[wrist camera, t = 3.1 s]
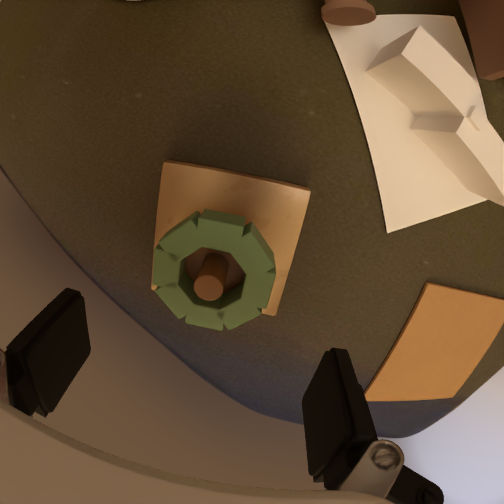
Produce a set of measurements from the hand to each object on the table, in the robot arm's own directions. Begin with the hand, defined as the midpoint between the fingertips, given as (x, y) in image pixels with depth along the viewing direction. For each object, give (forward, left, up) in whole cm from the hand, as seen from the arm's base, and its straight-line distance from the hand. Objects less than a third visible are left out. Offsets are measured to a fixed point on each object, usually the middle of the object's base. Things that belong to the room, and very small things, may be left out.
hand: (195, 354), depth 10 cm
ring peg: (0, +1, -11) cm, 10 cm away
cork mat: (+23, -6, -10) cm, 26 cm away
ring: (0, +1, -6) cm, 6 cm away
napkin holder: (+11, +13, -11) cm, 20 cm away
